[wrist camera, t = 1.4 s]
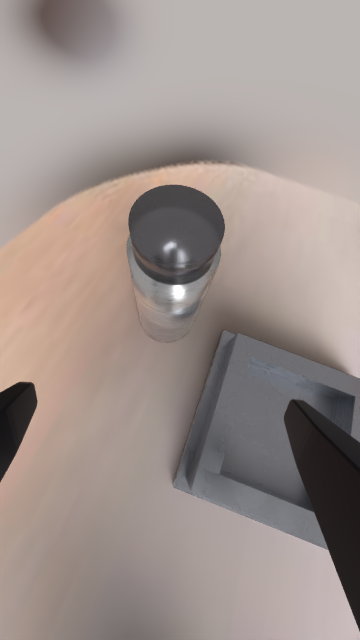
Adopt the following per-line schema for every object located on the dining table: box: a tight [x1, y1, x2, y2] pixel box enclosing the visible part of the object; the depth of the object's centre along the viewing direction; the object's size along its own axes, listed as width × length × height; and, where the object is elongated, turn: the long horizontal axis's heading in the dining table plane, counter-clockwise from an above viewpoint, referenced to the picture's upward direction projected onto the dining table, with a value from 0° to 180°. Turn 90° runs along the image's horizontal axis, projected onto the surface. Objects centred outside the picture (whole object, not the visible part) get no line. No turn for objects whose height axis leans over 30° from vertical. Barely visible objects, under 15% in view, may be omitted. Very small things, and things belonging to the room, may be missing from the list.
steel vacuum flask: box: [127, 185, 225, 343], centre depth 18 cm, size 5×5×13 cm
